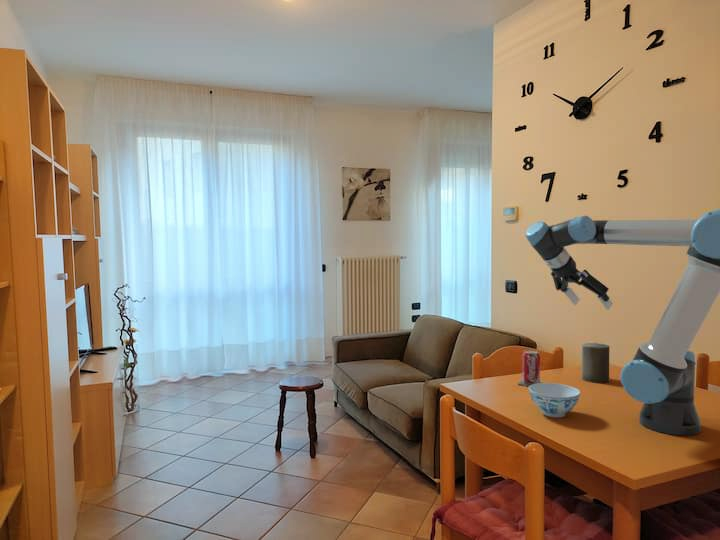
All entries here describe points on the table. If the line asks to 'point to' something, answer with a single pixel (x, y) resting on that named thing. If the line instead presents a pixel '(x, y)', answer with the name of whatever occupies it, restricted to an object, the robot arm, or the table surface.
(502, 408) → the table surface
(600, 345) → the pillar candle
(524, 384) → the mat
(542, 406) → the chinaware
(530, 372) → the beverage can
